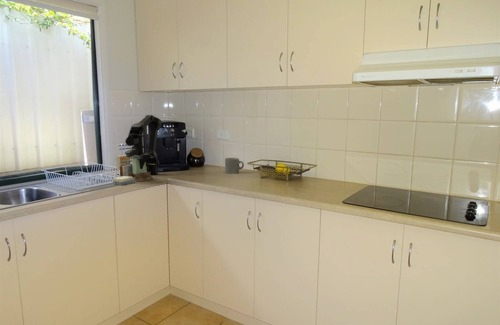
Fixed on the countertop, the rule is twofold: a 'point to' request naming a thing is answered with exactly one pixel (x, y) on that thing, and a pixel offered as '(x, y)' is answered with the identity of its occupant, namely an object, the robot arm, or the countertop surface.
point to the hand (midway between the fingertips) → (139, 168)
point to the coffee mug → (232, 165)
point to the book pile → (123, 180)
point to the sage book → (137, 166)
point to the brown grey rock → (139, 177)
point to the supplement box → (122, 161)
